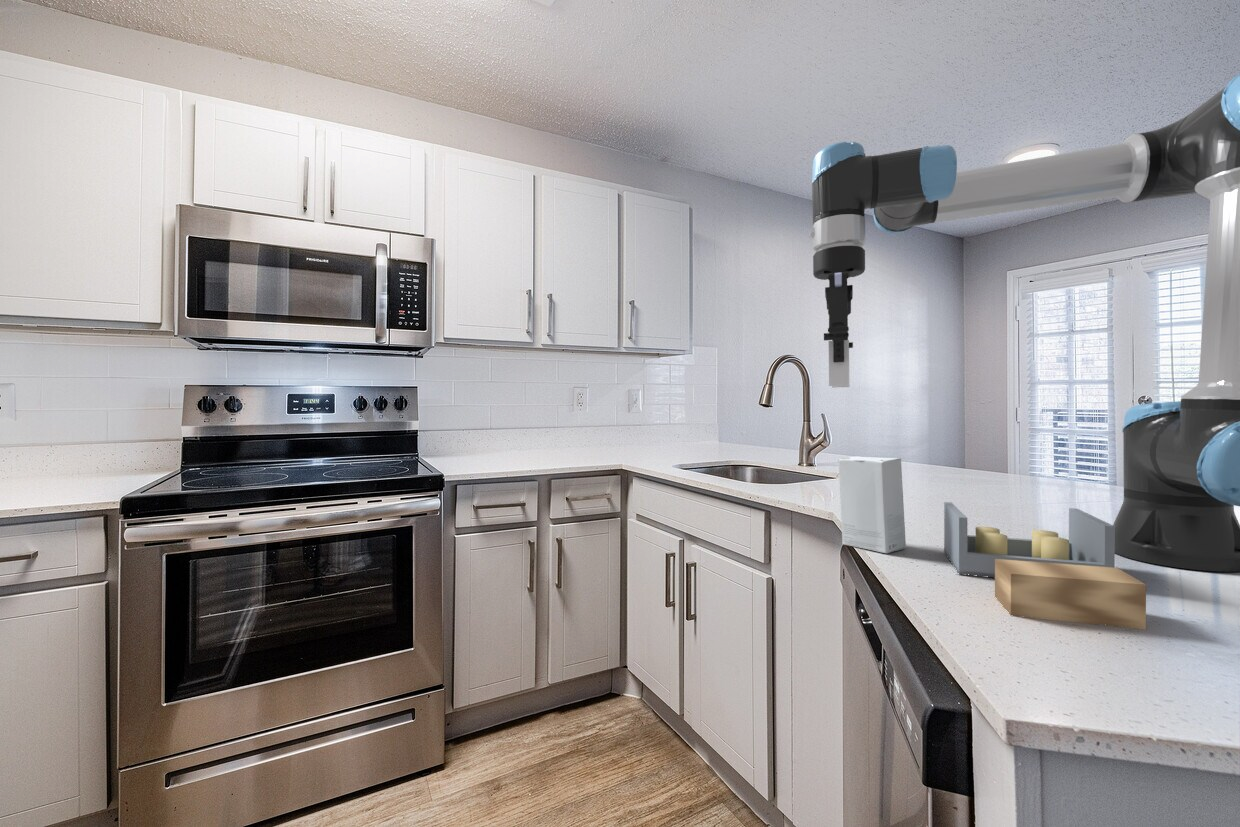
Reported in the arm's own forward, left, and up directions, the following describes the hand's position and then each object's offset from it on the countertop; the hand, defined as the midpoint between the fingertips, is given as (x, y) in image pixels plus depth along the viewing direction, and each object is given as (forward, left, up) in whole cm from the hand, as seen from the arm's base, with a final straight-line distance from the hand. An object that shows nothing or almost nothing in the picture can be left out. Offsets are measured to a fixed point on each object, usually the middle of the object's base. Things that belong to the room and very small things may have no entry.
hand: (839, 386), depth 86 cm
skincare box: (-5, -7, -27) cm, 28 cm away
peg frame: (-24, -1, -27) cm, 36 cm away
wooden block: (-24, +16, -27) cm, 39 cm away
